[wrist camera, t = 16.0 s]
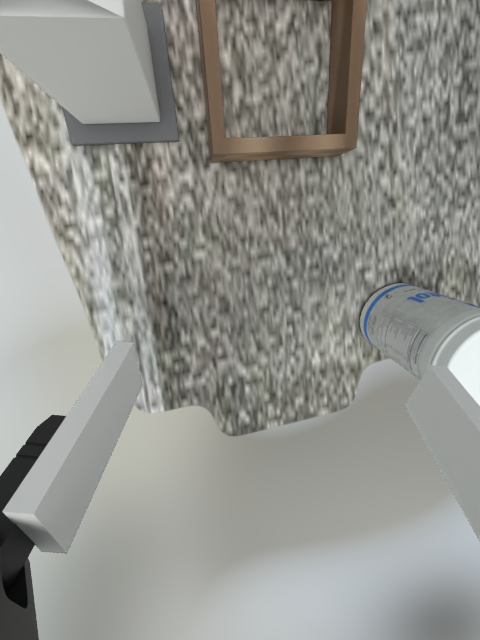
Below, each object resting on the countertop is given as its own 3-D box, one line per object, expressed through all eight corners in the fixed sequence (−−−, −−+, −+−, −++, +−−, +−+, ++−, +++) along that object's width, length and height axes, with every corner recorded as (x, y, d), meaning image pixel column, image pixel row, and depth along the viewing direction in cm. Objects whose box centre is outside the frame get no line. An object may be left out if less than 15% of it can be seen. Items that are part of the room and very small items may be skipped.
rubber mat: (162, 8, 24) (161, 3, 23) (179, 141, 28) (178, 139, 27) (39, 6, 23) (35, 1, 22) (74, 145, 26) (71, 144, 26)
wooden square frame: (345, -26, 25) (371, -68, 21) (336, 156, 30) (356, 147, 27) (192, -32, 23) (192, -79, 20) (210, 162, 29) (213, 154, 25)
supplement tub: (423, 277, 38) (554, 311, 24) (414, 339, 41) (524, 399, 27) (357, 287, 37) (455, 328, 23) (354, 350, 40) (437, 418, 26)
